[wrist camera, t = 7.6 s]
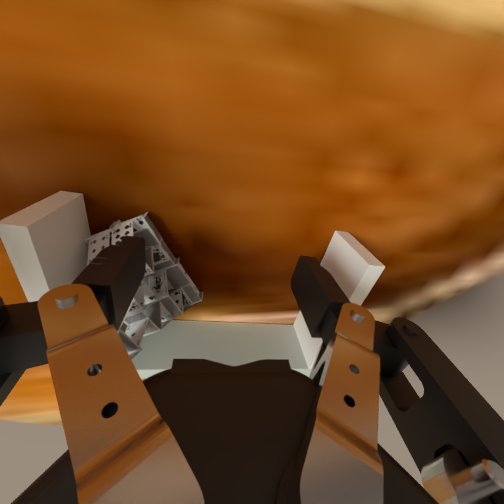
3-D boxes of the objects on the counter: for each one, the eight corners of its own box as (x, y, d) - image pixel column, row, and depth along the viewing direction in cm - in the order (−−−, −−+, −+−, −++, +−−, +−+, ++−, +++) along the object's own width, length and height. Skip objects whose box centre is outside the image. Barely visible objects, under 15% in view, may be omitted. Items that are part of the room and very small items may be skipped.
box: (60, 190, 11) (-6, 223, 8) (348, 232, 15) (385, 266, 12) (93, 325, 17) (62, 379, 13) (300, 332, 20) (316, 376, 17)
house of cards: (-3, 232, 13) (-234, 359, 6) (133, 177, 12) (32, 255, 5) (105, 325, 17) (39, 449, 11) (205, 290, 17) (197, 400, 10)
